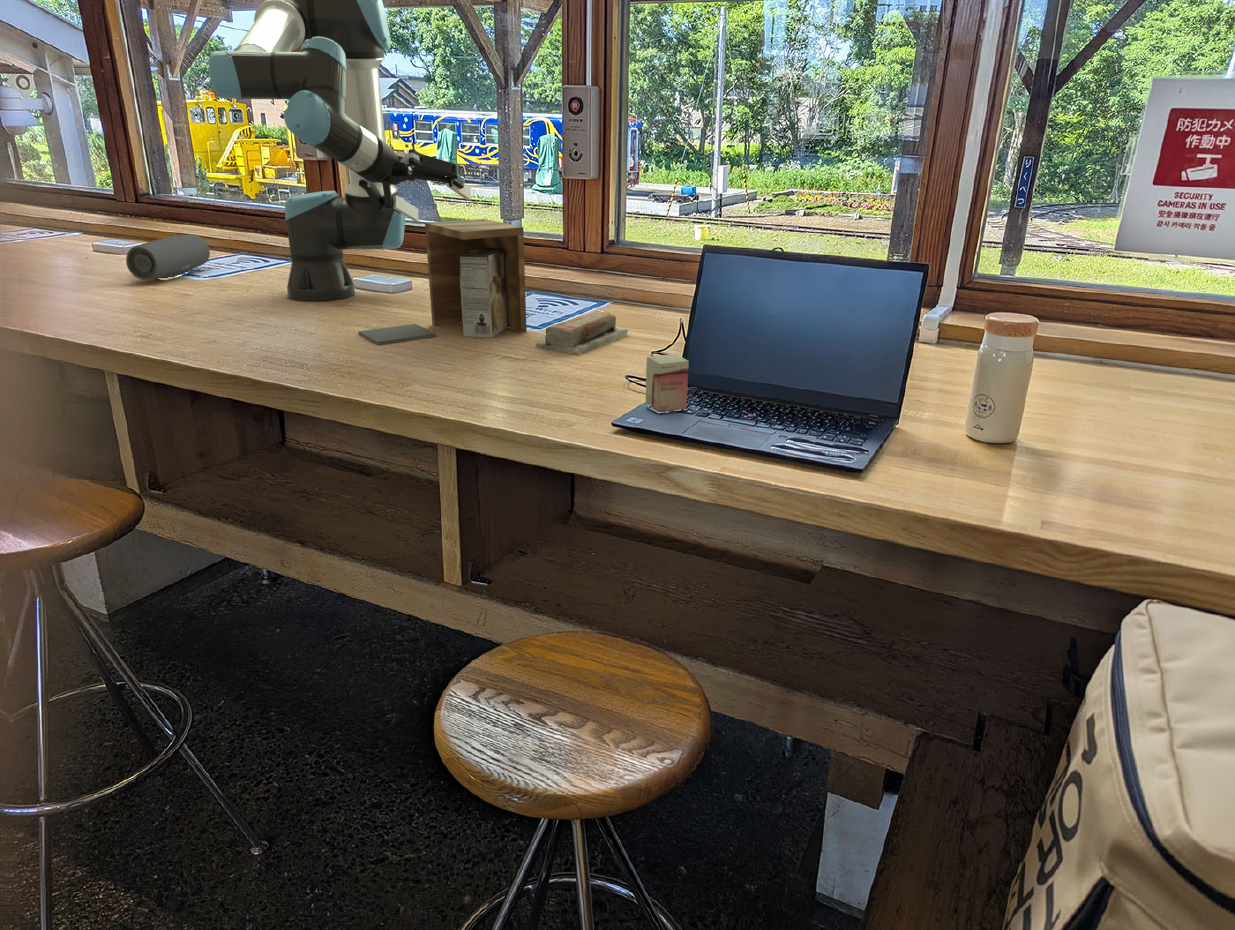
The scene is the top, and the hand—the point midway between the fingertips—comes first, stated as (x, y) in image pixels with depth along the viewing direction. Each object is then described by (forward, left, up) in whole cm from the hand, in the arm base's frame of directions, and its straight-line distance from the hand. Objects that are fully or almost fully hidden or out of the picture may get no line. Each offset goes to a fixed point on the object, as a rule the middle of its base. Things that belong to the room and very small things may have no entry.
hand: (442, 205), depth 174 cm
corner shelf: (+10, +1, -23) cm, 26 cm away
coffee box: (+14, +1, -24) cm, 27 cm away
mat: (+7, -15, -23) cm, 28 cm away
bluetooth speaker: (-84, -38, -24) cm, 95 cm away
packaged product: (+31, +13, -24) cm, 41 cm away
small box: (+72, 0, -24) cm, 76 cm away
